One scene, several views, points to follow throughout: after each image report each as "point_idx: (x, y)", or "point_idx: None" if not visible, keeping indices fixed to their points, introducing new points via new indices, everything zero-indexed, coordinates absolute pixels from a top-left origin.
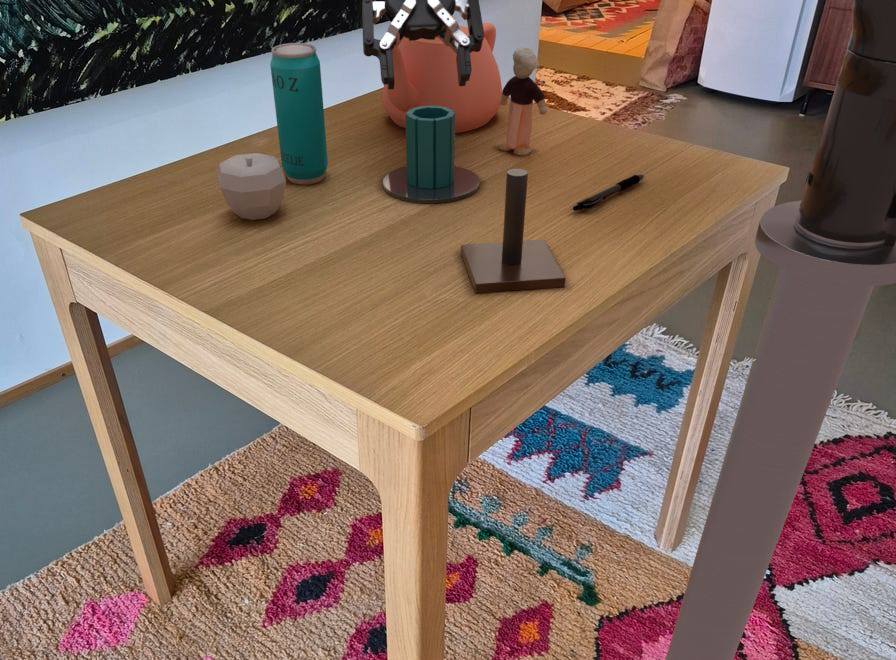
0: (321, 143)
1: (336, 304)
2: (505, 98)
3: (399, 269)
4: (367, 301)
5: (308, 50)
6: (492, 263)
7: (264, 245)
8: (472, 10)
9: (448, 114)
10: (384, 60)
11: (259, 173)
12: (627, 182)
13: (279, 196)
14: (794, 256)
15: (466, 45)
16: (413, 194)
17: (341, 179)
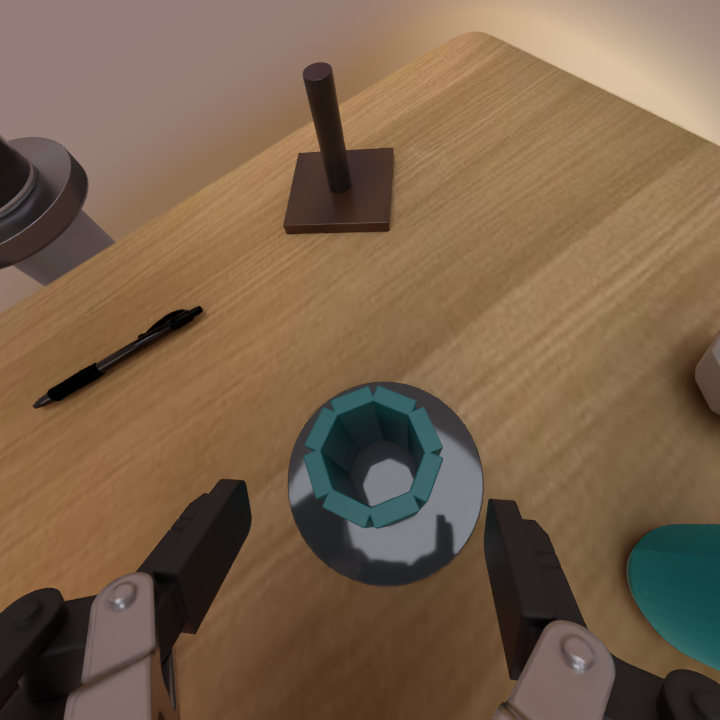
0: (677, 547)
1: (547, 147)
2: None
3: (471, 204)
4: (512, 150)
5: None
6: (363, 180)
7: (680, 280)
8: None
9: (327, 426)
10: (550, 586)
11: None
12: (79, 371)
13: (706, 352)
14: (74, 164)
15: (135, 573)
16: (427, 409)
17: (579, 554)
